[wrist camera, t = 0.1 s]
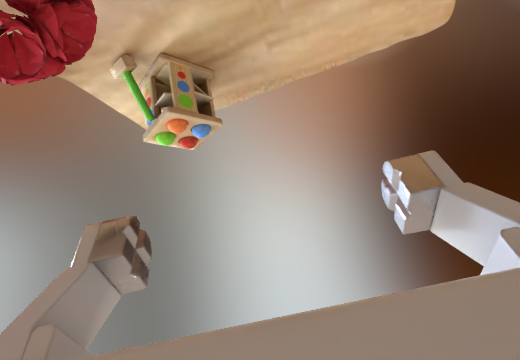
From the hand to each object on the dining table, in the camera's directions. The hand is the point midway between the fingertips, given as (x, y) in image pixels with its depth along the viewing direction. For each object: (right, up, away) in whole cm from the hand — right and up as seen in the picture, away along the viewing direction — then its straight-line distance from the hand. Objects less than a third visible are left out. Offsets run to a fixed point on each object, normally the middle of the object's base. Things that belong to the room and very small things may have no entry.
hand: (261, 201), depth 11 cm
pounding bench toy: (-25, +27, +73) cm, 82 cm away
